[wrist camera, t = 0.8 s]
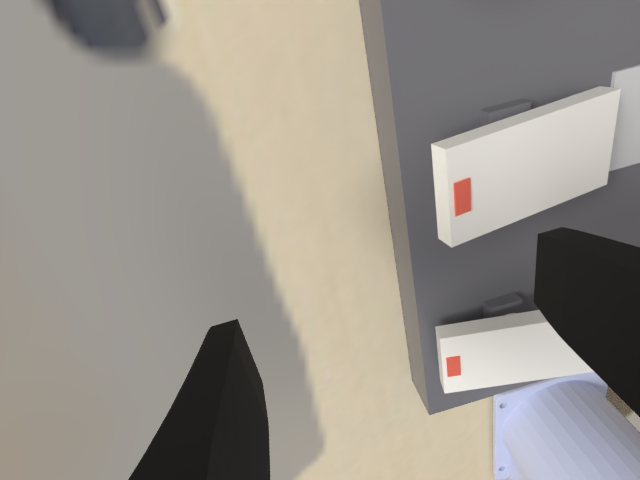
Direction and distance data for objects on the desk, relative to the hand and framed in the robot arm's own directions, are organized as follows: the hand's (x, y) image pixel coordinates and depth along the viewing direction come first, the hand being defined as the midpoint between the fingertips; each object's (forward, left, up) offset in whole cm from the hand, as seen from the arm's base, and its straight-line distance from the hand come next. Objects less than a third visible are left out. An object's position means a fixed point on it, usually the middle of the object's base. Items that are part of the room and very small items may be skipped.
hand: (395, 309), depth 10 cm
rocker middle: (0, -7, -6) cm, 9 cm away
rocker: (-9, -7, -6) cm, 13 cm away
